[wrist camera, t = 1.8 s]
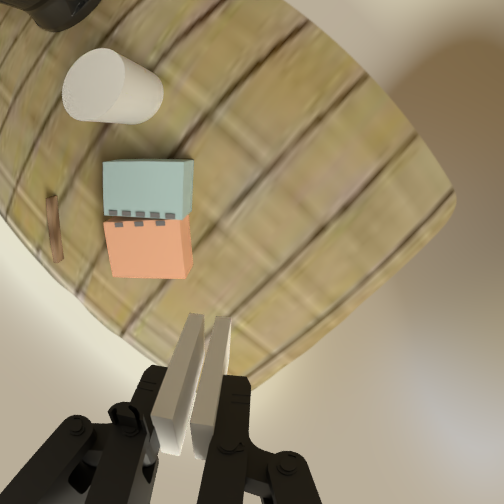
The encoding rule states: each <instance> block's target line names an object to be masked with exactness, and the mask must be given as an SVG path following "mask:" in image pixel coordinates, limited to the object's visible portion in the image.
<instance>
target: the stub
mask: <svg viewBox="0 0 504 504" xmlns="http://www.w3.org/2000/svg"><path fill="white" fill-rule="evenodd" d="M103 224H104V230H105V237H106V243H107V248H108V254H109V259H110V264H111V269H112V274H113V277H128V278H168V279H186V277H187V275H188V273H189V271H190V270H191V268H192V266H193V257H192V247H191V235H190V223H189V214H188V215H187V216H186V217H185V218H184V219H183V220H174V219H159V218H144V217H127V216H114V217H112V218H110V219H109V220H107V221H105V222H103Z"/></svg>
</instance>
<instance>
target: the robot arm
mask: <svg viewBox="0 0 504 504" xmlns="http://www.w3.org/2000/svg"><path fill="white" fill-rule="evenodd" d="M100 1H101V0H0V3H2V4H6V5H9V6H12V7H15V8H18V9H21V10H23V11H26V12H27V13H28V14H29V15H30V16H31V17H32V18H33V19H34V20H35V22H36V24H37V25H38V26H39V27H40V28H42V29H45V30H47V31H50V32H59V31H63V30H66V29H68V28H70V27H72V26H74V25H75V24H77V23H78V22H80V21H81V20H82V19H84V18H85V17H86V16H87V15H88V14H89V13H90V12H91V11H92V10H93V9H94V8H95V7H96V6H97V5H98V4H99V2H100ZM230 333H231V317H221V316H216V318H215V322H214V326H213V330H212V334H211V338H210V342H209V346H208V350H207V354H206V358H205V362H204V366H203V370H202V374H201V378H200V382H199V387H198V391H197V395H196V399H195V403H194V407H193V412H192V416H191V420H190V427H191V435H192V442H193V449H194V456H195V459H201V460H206V462H205V467H204V471H203V476H202V481H201V486H200V491H199V496H198V500H197V504H243V495H244V491H245V492H248V493H251V494H254V495H257V496H260V498H261V502H262V504H322V502H321V500H320V497H319V494H318V492H317V489H316V486H315V483H314V481H313V478H312V475H311V473H310V470H309V467H308V464H307V462H306V461H305V459H304V457H302V456H301V455H300V454H298V453H295V452H292V451H282V452H279V453H276V454H273V453H270V452H267V451H264V450H261V449H259V448H258V447H256V446H255V445H254V444H253V443H252V442H251V440H250V438H249V431H248V430H249V415H250V413H249V412H250V396H251V385H250V383H249V381H248V379H247V377H244V376H233V375H227V370H228V363H229V353H230ZM204 356H205V339H204V315H203V314H194V313H189V316H188V318H187V321H186V323H185V326H184V328H183V331H182V333H181V336H180V338H179V341H178V343H177V346H176V348H175V351H174V353H173V356H172V359H171V361H170V364H169V366H168V367H162V366H157V365H151V366H150V367H149V368H148V369H146V371H144V373H143V375H142V377H141V380H140V382H139V384H138V386H137V389H136V390H135V393H134V395H133V397H132V399H131V402H120V403H116V404H115V405H113V406H112V407H111V408H110V409H109V410H108V414H109V416H110V418H111V421H112V423H108V424H99V423H91V421H90V420H89V419H88V418H86V417H84V416H81V415H73V416H70V417H68V418H67V419H65V420H64V421H63V422H62V423H61V425H60V426H59V427H58V428H57V429H56V430H55V431H54V432H53V433H52V435H51V436H50V437H49V438H48V439H47V440H46V441H45V443H44V444H43V445H42V446H41V447H40V448H39V449H38V451H37V452H36V453H35V454H34V455H33V456H32V458H31V459H30V460H29V461H28V462H27V463H26V464H25V465H24V467H23V468H22V469H21V470H20V471H19V472H18V474H17V475H16V476H15V477H14V478H13V480H12V481H11V482H10V483H9V484H8V485H7V487H6V488H5V489H4V490H3V491H2V493H1V494H0V504H150V500H151V495H152V490H153V486H154V481H155V477H156V473H157V468H158V464H159V461H158V460H159V459H158V456H157V455H158V451H159V448H160V449H161V452H162V453H167V454H172V455H177V456H180V454H181V450H182V446H183V442H184V437H185V433H186V429H187V425H188V420H189V417H190V412H191V408H192V404H193V400H194V396H195V392H196V388H197V384H198V380H199V376H200V372H201V368H202V364H203V360H204Z"/></svg>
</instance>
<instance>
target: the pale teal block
mask: <svg viewBox="0 0 504 504" xmlns="http://www.w3.org/2000/svg"><path fill="white" fill-rule="evenodd" d="M193 166H194V160H186V159H118V160H112V161H106V162H103V201H104V215H109V216H127V217H144V218H159V219H174V220H183V219H184V218H185V217H186V216H187V215H188V214H189V213H190V212H191V211H192V188H193Z"/></svg>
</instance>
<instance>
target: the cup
mask: <svg viewBox="0 0 504 504" xmlns="http://www.w3.org/2000/svg"><path fill="white" fill-rule="evenodd" d="M62 99H63V104H64V107H65V109H66V111H67V112H68V114H69V115H70V116H71V117H73V118H74V119H77V120H80V121H93V122H108V123H121V124H131V125H134V124H140V123H143V122H145V121H147V120H148V119H150V118H151V117H152V116H153V115H154V114H155V113H156V112H157V111H158V109H159V107H160V105H161V103H162V100H163V85H162V82H161V80H160V79H159V78H158V76H157V75H155V74H154V73H152V72H151V71H149V70H147V69H146V68H144V67H142V66H140V65H139V64H137V63H135V62H133V61H131V60H130V59H128V58H126V57H124V56H122V55H120V54H119V53H117V52H115V51H113V50H111V49H107V48H99V49H94V50H91V51H89V52H87V53H85V54H84V55H82V56H81V57H80V58H79V59H78V60H77V61H76V62H75V63H74V64H73V65H72V67H71V68H70V70H69V71H68V73H67V75H66V78H65V80H64V84H63V89H62Z"/></svg>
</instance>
